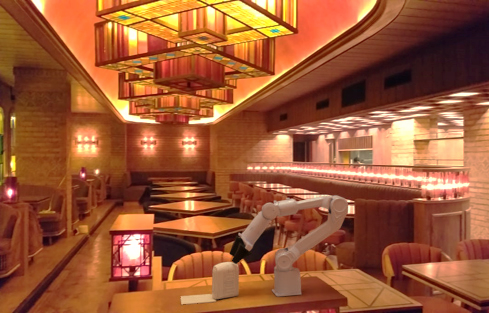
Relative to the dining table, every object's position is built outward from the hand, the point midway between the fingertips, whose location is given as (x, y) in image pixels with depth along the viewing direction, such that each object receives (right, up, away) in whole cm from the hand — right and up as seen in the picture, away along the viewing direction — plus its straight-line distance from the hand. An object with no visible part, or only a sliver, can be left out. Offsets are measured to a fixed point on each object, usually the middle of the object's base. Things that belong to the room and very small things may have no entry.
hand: (232, 258), depth 154 cm
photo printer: (-3, -13, -5) cm, 14 cm away
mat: (-12, -13, -6) cm, 19 cm away
